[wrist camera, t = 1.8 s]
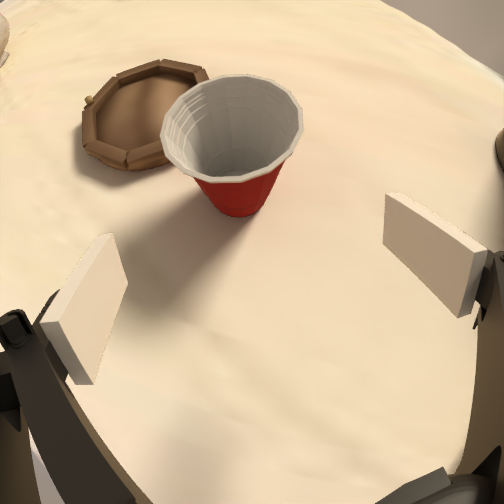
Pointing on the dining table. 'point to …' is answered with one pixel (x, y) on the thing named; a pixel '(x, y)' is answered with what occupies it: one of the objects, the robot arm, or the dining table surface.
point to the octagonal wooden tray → (135, 113)
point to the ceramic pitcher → (3, 39)
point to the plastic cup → (233, 138)
